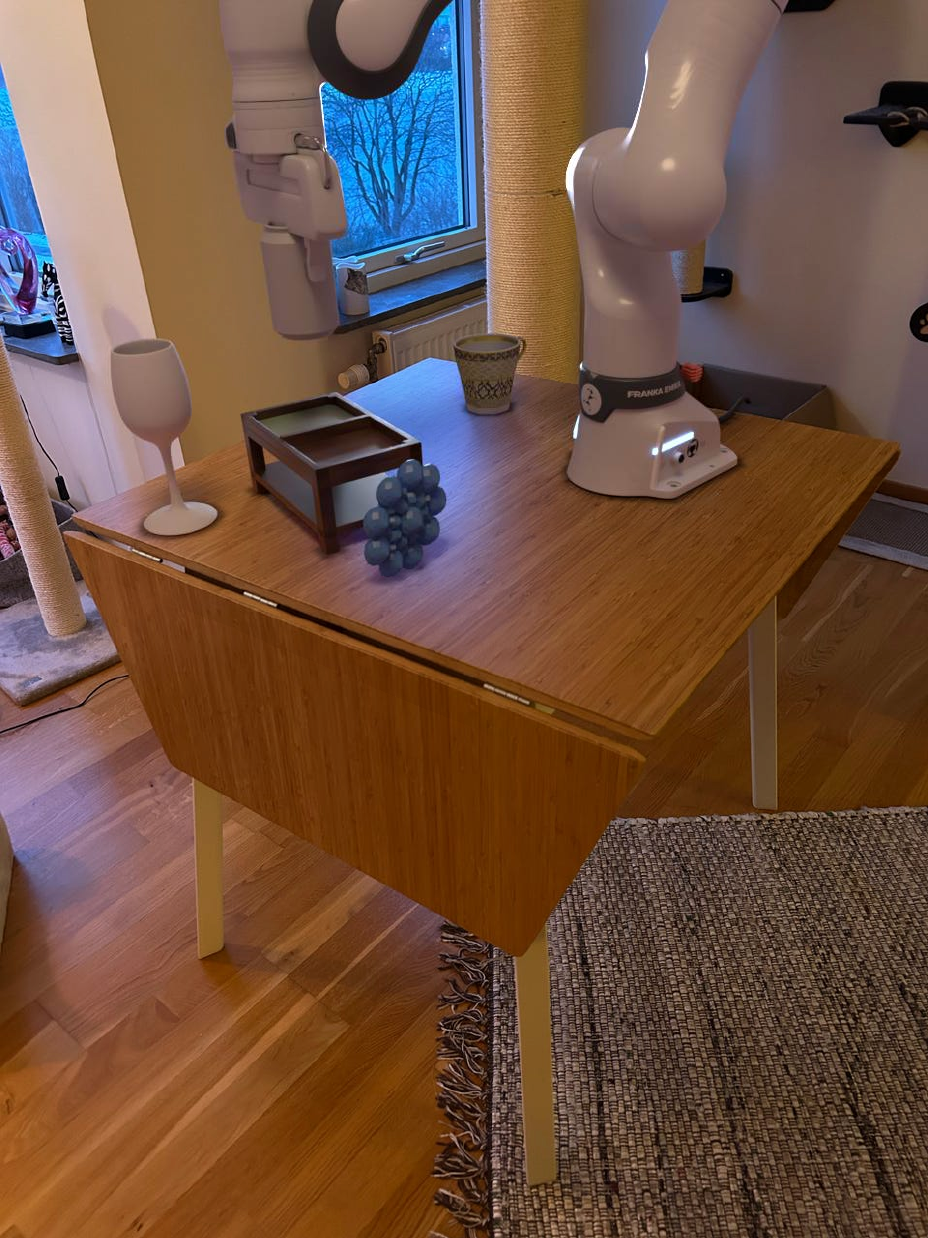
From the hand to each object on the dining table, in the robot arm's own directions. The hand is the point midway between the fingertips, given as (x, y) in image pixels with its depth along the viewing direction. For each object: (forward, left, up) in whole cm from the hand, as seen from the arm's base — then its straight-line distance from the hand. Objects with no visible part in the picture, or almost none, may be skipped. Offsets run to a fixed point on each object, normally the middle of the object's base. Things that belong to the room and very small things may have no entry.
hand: (299, 273), depth 101 cm
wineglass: (+17, -5, -27) cm, 33 cm away
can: (0, 0, -7) cm, 7 cm away
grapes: (+1, +21, -27) cm, 34 cm away
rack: (0, +3, -27) cm, 27 cm away
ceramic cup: (-36, -15, -27) cm, 47 cm away
